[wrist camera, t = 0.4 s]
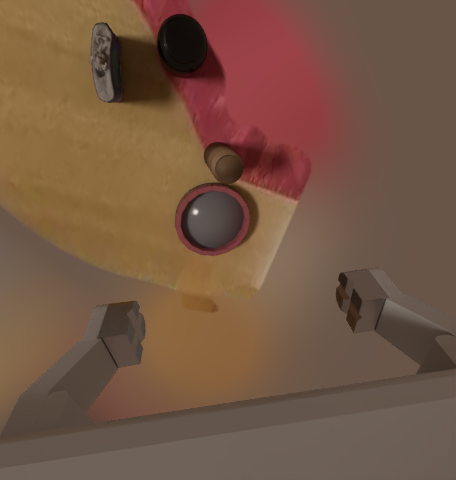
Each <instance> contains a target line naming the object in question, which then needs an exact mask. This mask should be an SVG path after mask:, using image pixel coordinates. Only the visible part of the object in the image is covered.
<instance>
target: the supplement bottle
mask: <svg viewBox="0 0 456 480" xmlns="http://www.w3.org/2000/svg"><path fill="white" fill-rule="evenodd" d="M157 46H158V51H159V55H160V58H161V61H162V63H163V65H164V67H165V68H166V69H167V71H168V72H170V73H171V74H172V75H174V76H176V77H179V78H187V77H190V76H192V75H194V74H195V73H196V72H197V71H198V70H199V68H200V67H201V66H202V64H203V63H204V61H205V59H206V55H207V49H208V44H207V38H206V35H205V32H204V30H203V28H202V27H201V25H200V24H199V23H198V22H197V21H196V20H195V19H194V18H192V17H190V16H188V15H185V14H175V15H172V16H170V17H168V18H167V19H166V20H165V21H164V22H163V23H162V25H161V27H160V29H159V32H158V37H157Z"/></svg>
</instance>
